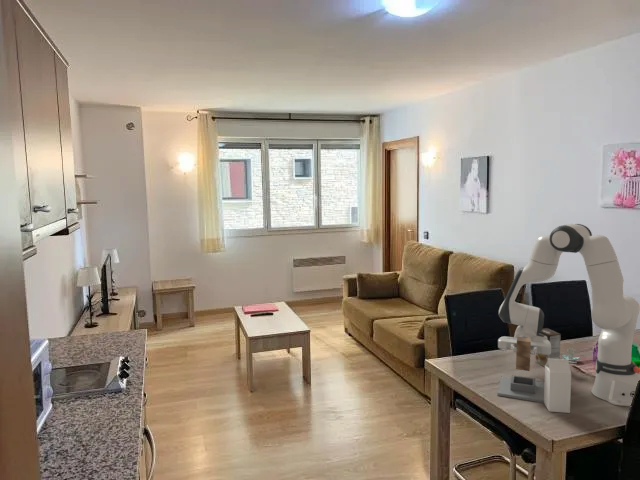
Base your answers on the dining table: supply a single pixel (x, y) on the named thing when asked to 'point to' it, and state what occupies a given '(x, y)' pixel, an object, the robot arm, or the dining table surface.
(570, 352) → the pacifier
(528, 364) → the walnut block
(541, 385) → the socket base
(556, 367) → the milk carton
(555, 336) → the coffee box
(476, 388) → the dining table surface
